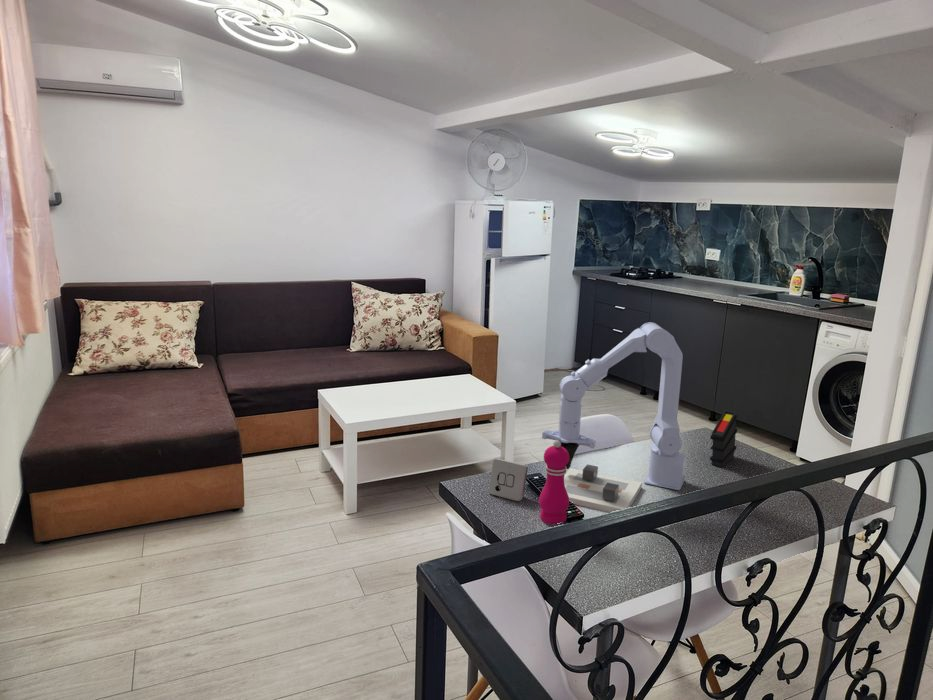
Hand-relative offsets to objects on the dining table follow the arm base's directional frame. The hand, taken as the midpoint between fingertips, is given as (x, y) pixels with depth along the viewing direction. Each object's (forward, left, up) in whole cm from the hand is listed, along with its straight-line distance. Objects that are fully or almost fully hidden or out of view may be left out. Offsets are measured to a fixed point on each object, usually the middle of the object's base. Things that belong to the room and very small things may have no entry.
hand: (566, 467), depth 180 cm
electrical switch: (+10, +16, -4) cm, 20 cm away
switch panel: (-10, +4, -4) cm, 11 cm away
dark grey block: (-7, 0, -2) cm, 7 cm away
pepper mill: (-5, +23, -4) cm, 24 cm away
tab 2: (-15, +9, -2) cm, 17 cm away
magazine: (-37, -35, -4) cm, 50 cm away
